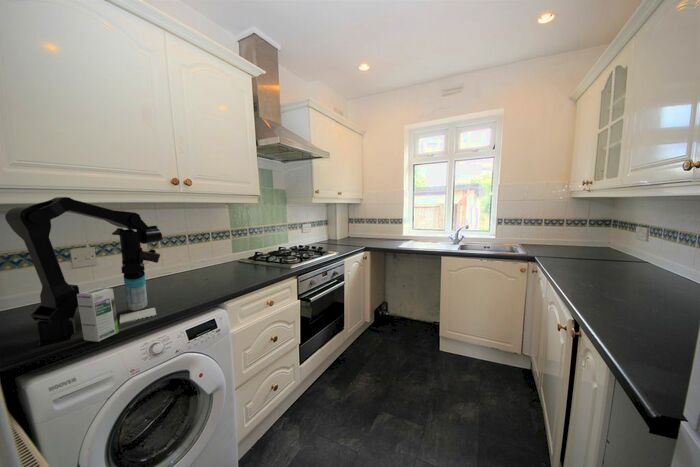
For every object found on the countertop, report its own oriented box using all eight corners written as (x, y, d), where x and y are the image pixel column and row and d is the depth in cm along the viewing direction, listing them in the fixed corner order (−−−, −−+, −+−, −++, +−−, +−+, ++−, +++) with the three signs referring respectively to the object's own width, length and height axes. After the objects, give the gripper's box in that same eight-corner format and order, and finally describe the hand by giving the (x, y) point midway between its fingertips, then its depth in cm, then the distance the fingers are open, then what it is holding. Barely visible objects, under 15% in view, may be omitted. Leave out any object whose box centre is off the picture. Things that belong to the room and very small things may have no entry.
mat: (119, 323, 87) (119, 322, 87) (120, 316, 93) (120, 315, 93) (156, 315, 93) (156, 314, 93) (154, 308, 99) (154, 307, 99)
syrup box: (98, 342, 75) (92, 294, 74) (82, 340, 77) (76, 293, 75) (119, 332, 81) (113, 287, 79) (104, 331, 82) (98, 286, 80)
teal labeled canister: (145, 299, 102) (143, 268, 97) (148, 308, 99) (146, 276, 93) (126, 304, 98) (122, 271, 93) (128, 314, 95) (124, 280, 89)
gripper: (159, 246, 95) (163, 287, 97) (155, 241, 109) (159, 277, 111) (119, 250, 88) (124, 294, 89) (120, 243, 102) (124, 282, 104)
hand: (135, 286), depth 98 cm, fingers closed
